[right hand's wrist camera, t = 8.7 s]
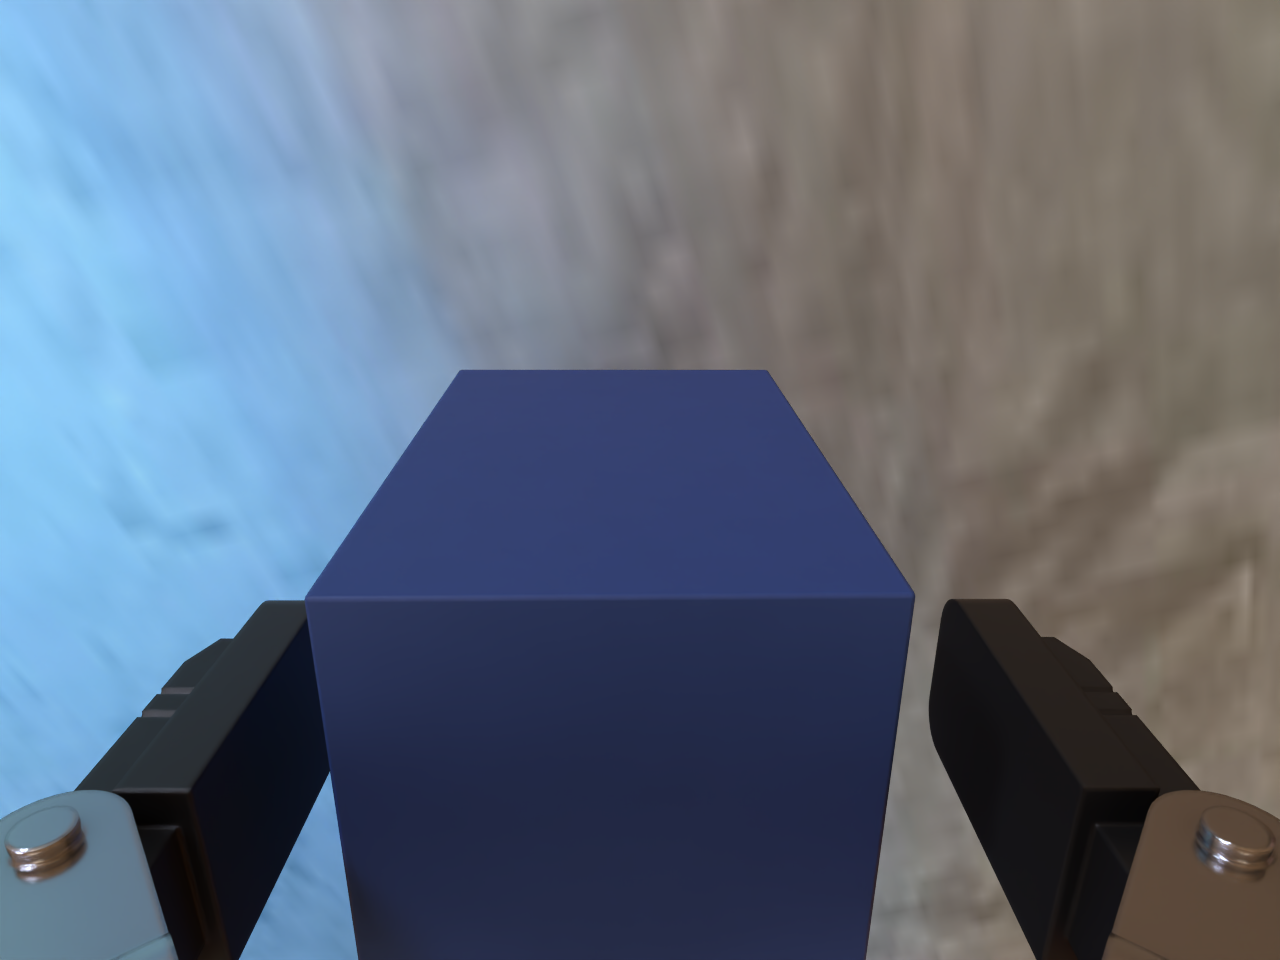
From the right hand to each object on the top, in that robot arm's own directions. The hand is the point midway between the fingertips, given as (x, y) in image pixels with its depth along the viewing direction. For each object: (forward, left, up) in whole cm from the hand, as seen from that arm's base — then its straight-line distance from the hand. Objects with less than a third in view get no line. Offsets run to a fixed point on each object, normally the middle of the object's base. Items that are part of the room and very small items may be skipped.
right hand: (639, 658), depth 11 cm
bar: (+3, +10, -5) cm, 12 cm away
